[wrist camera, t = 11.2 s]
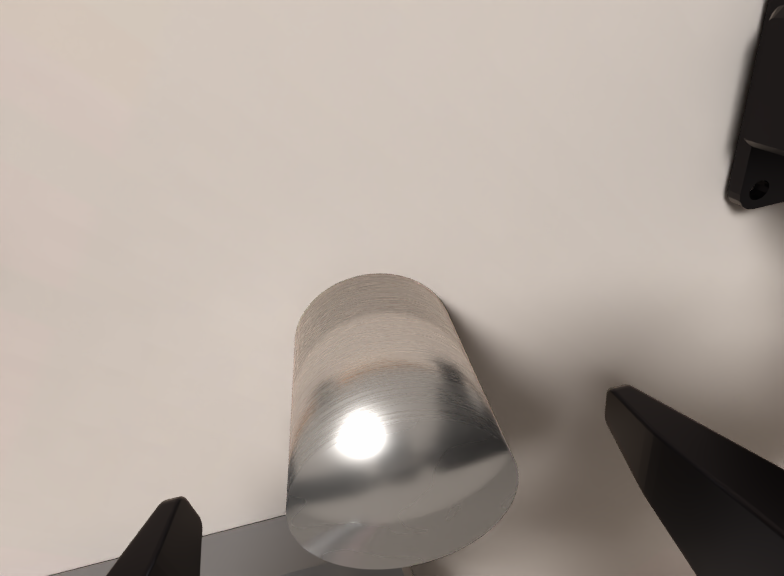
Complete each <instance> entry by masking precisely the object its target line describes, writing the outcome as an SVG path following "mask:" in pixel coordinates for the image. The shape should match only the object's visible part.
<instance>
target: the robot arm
mask: <svg viewBox="0 0 784 576" xmlns="http://www.w3.org/2000/svg"><path fill="white" fill-rule="evenodd" d="M754 185H755V186H754ZM753 186H754V188H753V189H752V190H751V188H752V187H753ZM750 190H751V191H750ZM728 198H729V200H730V201H731V202H733V203H735V204H737V205H740V206H742V207H744V208H746V209H755V208H760V207H764V206H768V205H772V204H776V203H780V202H784V0H769V1H768V6H767V11H766V15H765V20H764V24H763V29H762V34H761V38H760V43H759V48H758V52H757V57H756V61H755V66H754V71H753V75H752V80H751V84H750V89H749V94H748V98H747V103H746V108H745V112H744V117H743V121H742V126H741V131H740V135H739V140H738V145H737V149H736V154H735V158H734V163H733V168H732V172H731V177H730V182H729V186H728ZM605 420H606V423H607V425H608V428H609V429H610V431H611V433H612V435H613V437H614V439H615V441H616V443H617V445H618V447H619V449H620V451H621V453H622V454H623V456H624V458H625V460H626V462H627V464H628V466H629V468H630V470H631V472H632V474H633V476H634V478H635V479H636V481H637V483H638V485H639V487H640V489H641V490H642V492H643V494H644V496H645V497H646V499H647V500H648V502H649V504H650V505H651V507H652V508H653V510H654V511H655V513H656V514H657V516H658V517H659V519H660V520H661V522H662V523H663V525H664V527H665V528H666V530H667V531H668V533H669V534H670V536H671V537H672V539H673V540H674V542H675V543H676V545H677V546H678V548H679V549H680V551H681V552H682V554H683V555H684V557H685V558H686V560H687V561H688V563H689V565H690V566H691V568H692V569H693V571H694V572H695V574H696V575H697V576H784V469H782V468H780V467H778V466H777V465H775V464H773V463H771V462H769V461H767V460H766V459H764V458H762V457H760V456H758V455H756V454H755V453H753V452H751V451H749V450H747V449H746V448H744V447H742V446H740V445H738V444H736V443H735V442H733V441H731V440H729V439H727V438H725V437H724V436H722V435H720V434H718V433H716V432H714V431H713V430H711V429H709V428H707V427H705V426H704V425H702V424H700V423H698V422H696V421H694V420H693V419H691V418H689V417H687V416H685V415H683V414H682V413H680V412H678V411H676V410H674V409H673V408H671V407H669V406H667V405H665V404H663V403H662V402H660V401H658V400H656V399H654V398H652V397H651V396H649V395H647V394H645V393H643V392H642V391H640V390H638V389H636V388H634V387H632V386H630V385H621V386H617V387H613V388H610V389H609V390H608V391H607V395H606V406H605ZM201 546H202V522H201V519H200V517H199V515H198V514H197V513H196V511H195V510H194V509H193V507H192V506H191V504H190V503H189V502H188V500H187V499H186V498H185V497H182V496H180V497H176V498H172V499H168V500H165V501H163V502H162V503H161V504H159V506H158V507H157V508H156V510H155V511H154V512H153V514H152V515H151V516H150V517H149V519H148V520H147V521H146V523H145V524H144V525H143V527H142V528H141V529H140V531H139V532H138V533H137V535H136V536H135V537H134V539H133V540H132V541H131V543H130V544H129V545H128V547H127V548H126V549H125V551H124V552H123V553H122V555H121V556H120V557H119V559H118V560H117V561H116V563H115V564H114V565H113V567H112V568H111V569H110V571H109V572H108V573H107V575H106V576H200V566H201Z"/></svg>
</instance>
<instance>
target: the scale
mask: <svg viewBox="0 0 784 576" xmlns="http://www.w3.org/2000/svg"><path fill="white" fill-rule="evenodd" d="M118 559H119V558H118ZM118 559H114V560H110V561H106V562H102V563H98V564H94V565H90V566H87V567H83V568H79V569H75V570H71V571H67V572H63V573H59V574H55V575H51V576H106V575H107V573H108V572H109V571H110V569H111V568H112V567H113V565H114V564H115V563H116V561H117V560H118ZM200 576H413V573H412V570H411V567H410V566H408V567H402V568H394V569H357V568H351V567H345V566H341V565H337V564H333V563H331V562H328V561H325V560H323V559H321V558H319V557H317V556H315V555H313V554H312V553H310V552H309V551H307V550H306V549H304V548H303V547H302V546H301V545H300V544H299V543H298V542H297V540H296V539H295V538H294V536H293V535H292V533H291V531H290V529H289V526H288V523H287V517H286V515H285V516H281V517H278V518H274V519H270V520H266V521H262V522H258V523H254V524H250V525H246V526H242V527H239V528H235V529H231V530H227V531H223V532H219V533H215V534H211V535H207V536H203V537H202V546H201V566H200Z"/></svg>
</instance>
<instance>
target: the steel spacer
mask: <svg viewBox="0 0 784 576" xmlns="http://www.w3.org/2000/svg"><path fill="white" fill-rule="evenodd" d="M517 487H518V469H517V465H516V462H515V460H514V457H513V455H512V453H511V451H510V449H509V446H508V444H507V442H506V440H505V438H504V435H503V433H502V431H501V429H500V427H499V424H498V422H497V420H496V418H495V416H494V413H493V411H492V409H491V407H490V405H489V402H488V400H487V398H486V396H485V394H484V391H483V389H482V387H481V385H480V383H479V380H478V378H477V376H476V374H475V372H474V369H473V367H472V365H471V363H470V361H469V358H468V356H467V354H466V352H465V350H464V348H463V345H462V343H461V341H460V339H459V337H458V334H457V332H456V330H455V328H454V326H453V323H452V321H451V319H450V317H449V315H448V312H447V310H446V308H445V306H444V305H443V303H442V302H441V300H440V299H439V298H438V297H437V296H436V294H435V293H433V292H432V291H431V290H430V289H429V288H427V287H426V286H424V285H422V284H421V283H419V282H417V281H415V280H412V279H410V278H406V277H403V276H399V275H393V274H367V275H361V276H356V277H353V278H350V279H346V280H344V281H342V282H339V283H337V284H335V285H333V286H332V287H330V288H328V289H327V290H325V291H324V292H323V293H321V294H320V295H319V296H318V297H316V298H315V299H314V300H313V301H312V302H311V303H310V305H309V306H308V307H307V309H306V310H305V311H304V313H303V315H302V317H301V318H300V321H299V323H298V326H297V329H296V334H295V347H294V367H293V387H292V406H291V426H290V445H289V465H288V484H287V504H286V517H287V523H288V526H289V529H290V531H291V533H292V535H293V536H294V538H295V539H296V540H297V542H298V543H299V544H300V545H301V546H302V547H303V548H304V549H306V550H307V551H309V552H310V553H312V554H313V555H315V556H317V557H319V558H321V559H323V560H325V561H328V562H331V563H333V564H337V565H341V566H345V567H351V568H357V569H394V568H402V567H408V566H413V565H418V564H422V563H426V562H429V561H432V560H436V559H439V558H441V557H444V556H446V555H449V554H451V553H453V552H456V551H458V550H460V549H462V548H464V547H465V546H467V545H469V544H471V543H472V542H474V541H475V540H477V539H478V538H480V537H481V536H483V535H484V534H485V533H486V532H488V531H489V530H490V529H491V528H492V527H493V526H494V525H495V524H496V523H497V522H498V521H499V520H500V519H501V518H502V517H503V515H504V514H505V513H506V512H507V510H508V508H509V507H510V505H511V504H512V501H513V499H514V497H515V494H516V491H517Z"/></svg>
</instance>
